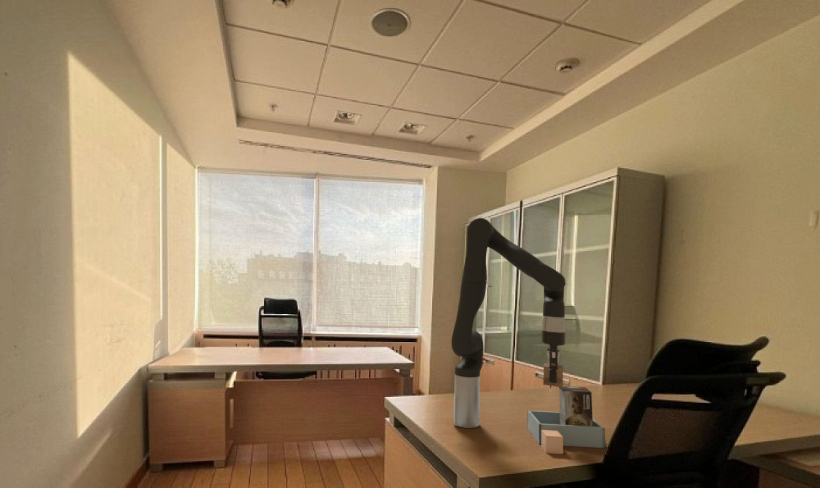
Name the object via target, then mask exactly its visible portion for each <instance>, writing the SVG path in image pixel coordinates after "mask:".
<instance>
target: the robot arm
mask: <svg viewBox="0 0 820 488" xmlns="http://www.w3.org/2000/svg"><path fill="white" fill-rule="evenodd" d="M466 232H467V233H466V235H467V236H466V254H465V261H464V265H463V271H462V276H461V282H460V290H459V292H460V293H459V299H458V300H459V301H458V307H457V314H456V318H455V323H454V326H453V331H452V334H451V341H450V343H451V344H450V345H451V349H452V351H453V353H454V354H455V355H456V356H458V357H461V359H460V361H459V362H458V363H457V364H456V365H455V366H454V390H453V391H454V394H453V420H452V421H453V425H454V427H455V426H456V427H460V428H465V429H473V428H474V429H476V428H477V427H480V415H481V413H480V409H481V408H480V406H481V405H480V403H481V401H480V399H481V398H480V397H481V393H480V392H481V371H482V368H483V362H484V361H483V360H484V340H483V337H482V335H481V334H480V333H479V332H478V331H477V330H474V329H473V326H474V323H475V322H474V320H475V318H476V316H477V313H479V310H480V308H481V306H482V305H483V302H484V300H485V297H486V290H487V280H488V273H487V252H488V248H489V249H491V250H492V251H494V252H496V253H497V254H499V255H500V256H502V257H503V258H504V259H505V260H506V261H507V262H509V263H510V264H511V265H512V266H513V267H514V268H516V269H518V270H519V271H520V272H521V273H523V274H525V275H526V276H527V277H530V278H532V279H534V280H535V282H537V283H538V284H539V285H541V286H542V287H543V304H542V307H543V308H542V321H541V343H542V344H544V345H549V346H548V348H546V355H547V364H549V370H550V377H549V381H550V382H552V383H556V382H557V370H558V368H557V365H560V361H559V359H560V358H559V357H560V353H561V351H560V349H558V346H562V347H563V346H565V345H566V318H565V317H566V316H565V314H566V313H565V310H566V307H565V302H564V300H565V299H564V297H565V287H566V278H565V276H564V275H563V274H562V273H560V272H559V271H557V270H555V269H554V268H552V267H551V266H549V265H548V264H546V263H544V262H543V261H541V260H540V259H539V258H537V256H535V255H533V254H532V253H531V252H528V251H527V250H526V249H524V248H523V247H521V246H519V245H518V244H515V243H514V242H512V241H511V240H509V239H508V238H507V237H505V236H504V235H503V234H501V232H499V231H498V230H497V229H496V228H495V227H494V225H493V224H492V223H491V222H490V221H489V220H487V219H486V218H484V217H475V218H474V219H472V220H471V221H470V222H469V224H468V226H467V231H466ZM551 364H555V365H556V366H551Z"/></svg>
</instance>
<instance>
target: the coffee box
mask: <svg viewBox="0 0 820 488" xmlns="http://www.w3.org/2000/svg"><path fill="white" fill-rule="evenodd" d="M558 391H559V393H558V397H559V398H558V399H559V412H560V425H575V426H592V427H593V419H594V418H593V398H592V397H593V396H592V395H593V394H592V391H591V390H589V389H588V388H587V387H586V386H585V387H584V386H567V385H563V387H558Z"/></svg>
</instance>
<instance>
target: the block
mask: <svg viewBox="0 0 820 488" xmlns="http://www.w3.org/2000/svg"><path fill="white" fill-rule="evenodd" d="M551 366H556V365H555V364H551ZM557 368H558V370H557V382H556V383H552V382H550V381H549V377H550V370H549V364H548V363H543V385H544V386H549V387H550V386H551V387H557V388H559V387H563V386H564V383H563V382H564V381H563V380H564V368H563V365H562V364H558V365H557Z"/></svg>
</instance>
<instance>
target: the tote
mask: <svg viewBox="0 0 820 488" xmlns="http://www.w3.org/2000/svg"><path fill="white" fill-rule="evenodd" d="M526 416H527V419H526V420H527V422H526V423H527V429H528V431H529V432H530V433H531V435H532V436H533V438H534V439H535V440H536V442H537V443H538V444H539V445H541V430H553V431H558V432H559V433H560V434H561V435H562V436H563V447H566V446H567V447H580V448H581V447H582V448H599V449H606V428H605V427H604V426H603V425H601V424H600V423H599V422H598V421H596V420H595V419H594V418H593V427H592V426H575V425H560V411H559V412H558V411H543V410H527V415H526Z"/></svg>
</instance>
